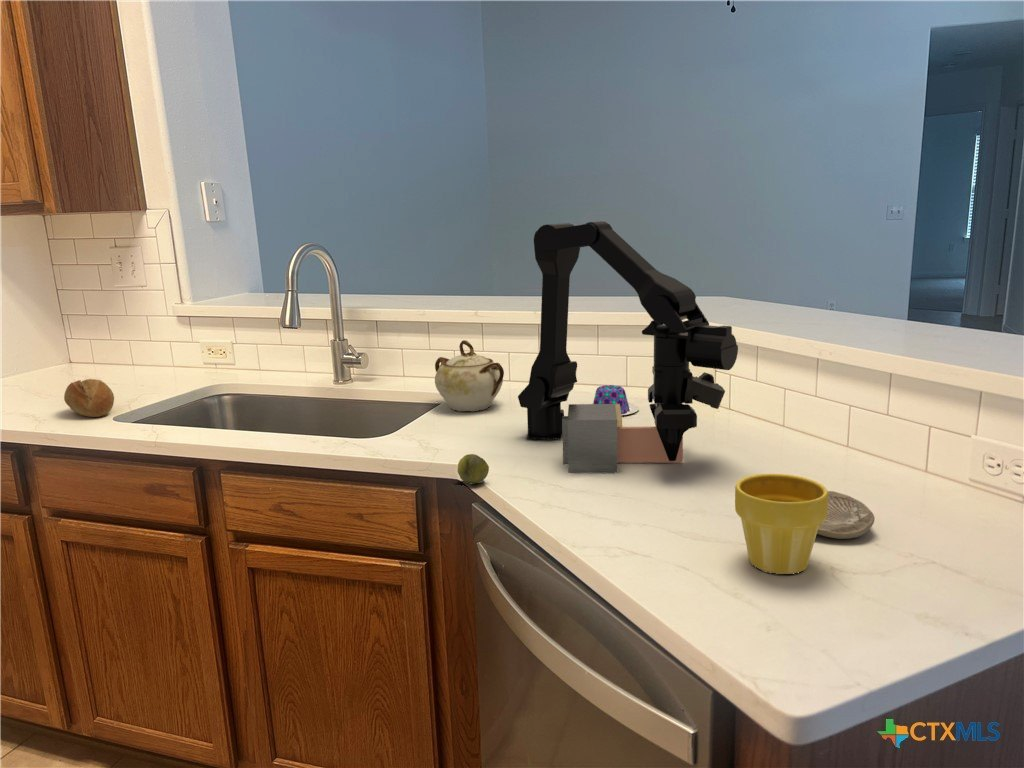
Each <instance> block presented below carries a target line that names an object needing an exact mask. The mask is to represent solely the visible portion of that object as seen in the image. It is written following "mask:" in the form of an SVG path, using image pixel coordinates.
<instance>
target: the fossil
mask: <svg viewBox="0 0 1024 768" xmlns="http://www.w3.org/2000/svg"><path fill="white" fill-rule="evenodd" d="M827 491H828V507H827V516H826V519H825V521H824V522H823V523H821V524H820V525H819V528H818V531H817V535H820V536H823V537H827V538H831V539H839V540H841V539H842V540H848V539H854V538H859V537H861V536H863V535H864V534H866V533H867V532H869V531H870V530H871V528H872V527H873V525H874V523H875V514H874V513H873V512H872V510H871V509H870V508H869V507H868V506H867V505H866V504H864V503H863V502H862V501H860V500H858V499H856V498H854V497H852V496H850V495H847V494H844V493H841V492H837V491H833V490H832V491H831V490H827Z"/></svg>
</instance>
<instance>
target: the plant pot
mask: <svg viewBox="0 0 1024 768" xmlns="http://www.w3.org/2000/svg"><path fill="white" fill-rule="evenodd" d="M734 489H735V490H734V508H735V512H736V515H738V517H739V518H740V520H741V525H742V531H743V535H744V540H745V544H746V550H747V555H748V560H749V562H750V564H751V565H752V566H753V565H754V566H755V567H754V566H753V567H754V568H756V567H757V568H759V569H761V570H763V571H762V572H764V571H766V572H765V573H767V572H771V573H776V574H775V575H777V574H793V573H798V572H801V571H803V570H804V569H805V570H807V567H808V566H809V565H808V564H809V561H810V558H811V554H812V551H813V548H814V545H815V540H816V537H817V535H818V534H817V531H818V528H819V525H820V524H821V523H823V522H824V521H825V519H826V516H827V507H828V491H829V490H828V489H827V488H826V487H825V486H824V485H823V484H821V483H820V482H818V481H815V480H813V479H810V478H807V477H803V476H799V475H793V474H786V473H785V474H784V473H759V474H752V475H749V476H745V477H743V478H740V479H739V480H738V481H736V484H735V486H734ZM757 568H756V569H757ZM759 569H758V570H759ZM761 570H760V571H761ZM805 570H804V571H805ZM804 571H803V572H804ZM771 573H770V574H771ZM801 573H802V572H801ZM798 574H799V573H798Z"/></svg>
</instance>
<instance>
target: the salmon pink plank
mask: <svg viewBox="0 0 1024 768" xmlns="http://www.w3.org/2000/svg"><path fill="white" fill-rule="evenodd" d="M683 442H684V435H683V436H682V440H681V443H680V447H679V451H678V454H677V458H676V460H675V461H669V459H668V457H667V454H666V452H665V449H664V446H663V444H662V441H661V439H660V436H659V433H658V431H657V428H656V426H622V427H617V464H618V463H683V460H684V459H683V450H684V449H683V448H684V443H683Z"/></svg>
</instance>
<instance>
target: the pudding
mask: <svg viewBox="0 0 1024 768" xmlns="http://www.w3.org/2000/svg"><path fill="white" fill-rule="evenodd" d="M594 394H595V395H594V397H593V398H594V399H593V402H590V403H589V404H620V409H621V415H622V416H627V415H631V414H634V413H636V412H637V411H639V410H640V409H639V408H640V407H639V406H638V405H636V404H634V403H631V402H629V401H628V398H627V394H626V390H625V388H623V387H622V386H621V385H614V384H611V385H600V386H598V387H597V388H596V390H595V393H594ZM629 408H631V409H632V411H631V412H630V409H629ZM626 413H627V414H626Z"/></svg>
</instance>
